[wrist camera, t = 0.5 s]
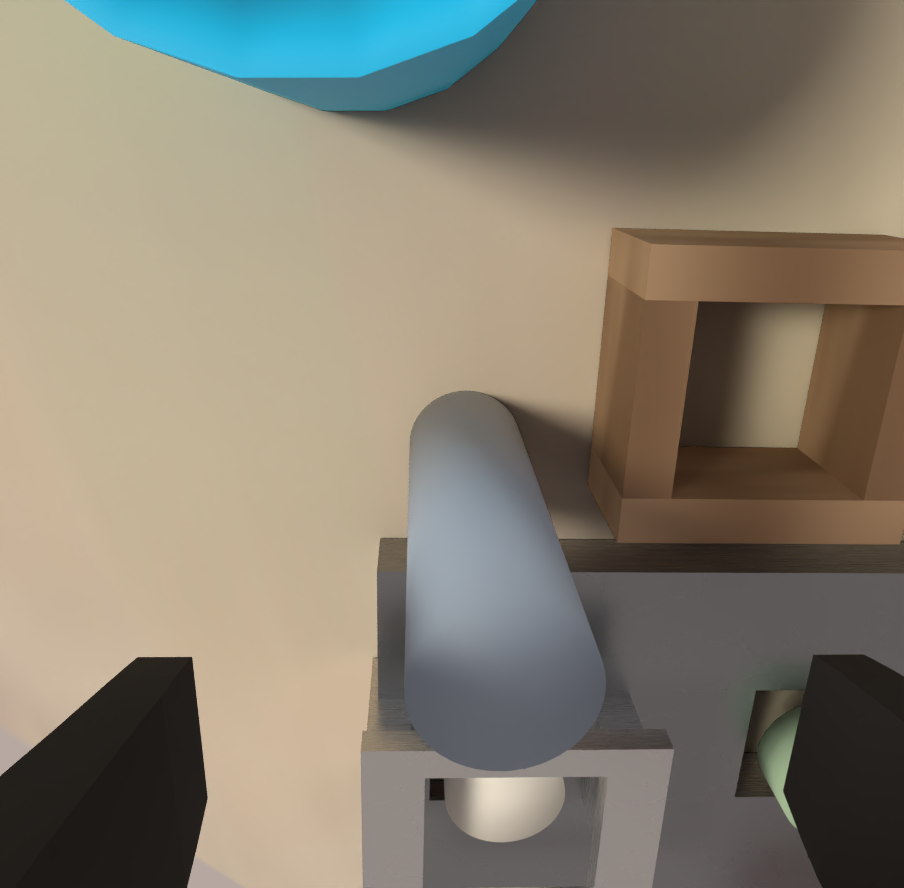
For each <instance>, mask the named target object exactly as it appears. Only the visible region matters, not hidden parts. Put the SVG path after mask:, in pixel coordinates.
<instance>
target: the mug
mask: <svg viewBox="0 0 904 888" xmlns="http://www.w3.org/2000/svg"><path fill="white" fill-rule="evenodd" d="M65 1H67V2H68V3H69V4H71V5H72V6H73V7H75V8H76V9H78V10H79V11H80V12H82V13H83V14H85V15H86V16H87V17H89V18H90V19H92V20H93V21H94V22H96V23H97V24H98V25H100V26H101V27H103V28H104V29H105V30H107V31H108V32H110V33H111V34H112V35H114V36H116V37H119V38H122V39H124V40H127V41H130V42H133V43H135V44H138V45H141V46H144V47H146V48H149V49H152V50H155V51H157V52H160V53H163V54H165V55H168V56H171V57H174V58H176V59H179V60H182V61H185V62H187V63H190V64H193V65H195V66H198V67H201V68H204V69H206V70H209V71H212V72H215V73H217V74H220V75H223V76H225V77H228V78H231V79H234V80H236V81H239V82H242V83H245V84H247V85H250V86H253V87H256V88H258V89H261V90H264V91H267V92H270V93H273V94H276V95H279V96H281V97H284V98H287V99H290V100H293V101H296V102H299V103H302V104H305V105H308V106H311V107H314V108H317V109H320V110H323V111H387V110H390V109H393V108H396V107H399V106H401V105H404V104H407V103H410V102H412V101H415V100H418V99H421V98H424V97H426V96H429V95H432V94H435V93H438V92H440V91H443V90H446V89H448V88H449V87H450V86H451V85H453V84H454V83H455V82H456V81H458V80H459V79H460V78H461V77H463V76H464V75H465V74H466V73H468V72H469V71H470V70H471V69H473V68H474V67H475V66H476V65H478V64H479V63H480V62H481V61H483V60H484V59H485V58H486V57H488V56H489V55H490V54H491V53H493V52H494V51H495V50H496V49H498V48H499V47H500V45H501V44H502V43H503V42H504V40H505V39H506V38H507V37H508V35H509V34H510V33H511V32H512V31H513V29H514V28H515V27H516V26H517V24H518V23H519V22H520V21H521V19H522V18H523V17H524V16H525V15H526V13H527V12H528V11H529V10H530V8H531V7H532V6H533V5H534V4H535V2H536V1H537V0H65Z"/></svg>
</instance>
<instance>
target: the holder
mask: <svg viewBox="0 0 904 888" xmlns="http://www.w3.org/2000/svg"><path fill="white" fill-rule="evenodd" d="M699 301H715V302H763V303H810V304H826V305H825V310H824V315H823V320H822V325H821V330H820V335H819V340H818V345H817V350H816V356H815V361H814V366H813V371H812V376H811V381H810V386H809V391H808V396H807V401H806V406H805V412H804V417H803V422H802V427H801V432H800V437H799V442H798V447H797V448H748V447H678V446H679V439H680V432H681V425H682V418H683V411H684V403H685V396H686V389H687V382H688V375H689V367H690V360H691V353H692V346H693V339H694V331H695V324H696V317H697V310H698V303H699ZM588 486H589V488H590V490H591V492H592V494H593V496H594V498H595V500H596V502H597V504H598V506H599V508H600V510H601V512H602V514H603V516H604V518H605V520H606V522H607V524H608V526H609V528H610V530H611V532H612V533H613V535H614V537H615V539H616V541H617V543H743V544H900V542H901V538H902V535H903V531H904V239H903V238H897V237H892V236H887V235H866V234H826V233H787V232H748V231H709V230H670V229H631V228H612V238H611V249H610V259H609V269H608V280H607V290H606V300H605V310H604V321H603V331H602V341H601V352H600V362H599V372H598V382H597V393H596V403H595V413H594V424H593V434H592V444H591V454H590V465H589V475H588Z"/></svg>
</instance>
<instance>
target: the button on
mask: <svg viewBox="0 0 904 888" xmlns="http://www.w3.org/2000/svg"><path fill="white" fill-rule="evenodd" d="M801 707H802V706H800V707H798V708H795V709H793V710H791V711H789V712H787V713H785V714H784V715H782V716H781V717H779V718H778V719H777V720H775V721H774V722H773V723H772V724H771V725H770V726H769V728H768V729H767V730H766V731H765V733H764V735H763V736H762V738H761V741H760V743H759V747H758V753H757V759H758V764H759V767H760V769H761V771H762V773H763V775H764V777H765V779H766V780H767V782H768V784H769V786H770V788H771V789H772V791H773V793H774V795H775V797H776V799H777V800H778V802H779V804H780V806H781V808H782V809H783V811H784V813H785V815H786V817H787V818H788V820H789V821H790V822H791V824H792V825H793V826H794V827H796V824H795V822H794V819H793V816H792V814H791V811H790V808H789V806H788V803H787V801H786V798H785V795H784V793H783V788H784V784H785V779H786V775H787V770H788V766H789V761H790V757H791V752H792V748H793V743H794V739H795V734H796V730H797V725H798V721H799V716H800V712H801ZM796 828H797V827H796Z"/></svg>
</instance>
